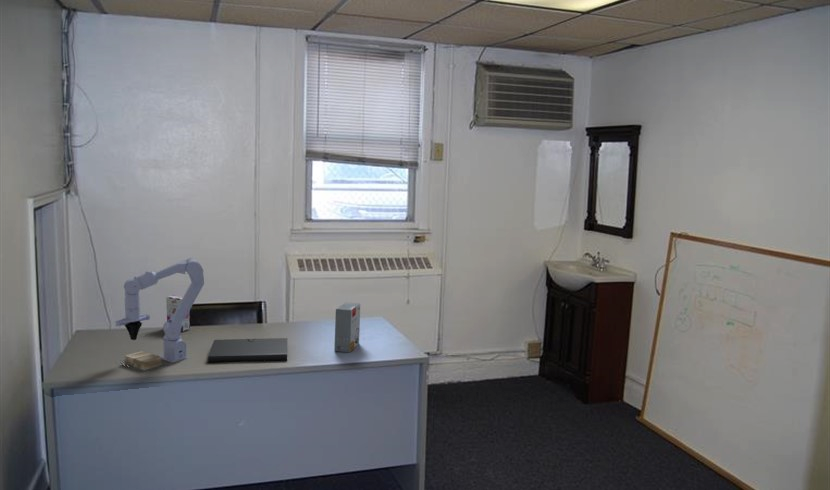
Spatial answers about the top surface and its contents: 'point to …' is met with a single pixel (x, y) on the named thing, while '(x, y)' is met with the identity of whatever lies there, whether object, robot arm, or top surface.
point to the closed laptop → (248, 350)
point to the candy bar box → (171, 308)
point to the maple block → (143, 360)
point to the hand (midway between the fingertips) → (133, 339)
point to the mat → (143, 370)
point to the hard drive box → (347, 327)
